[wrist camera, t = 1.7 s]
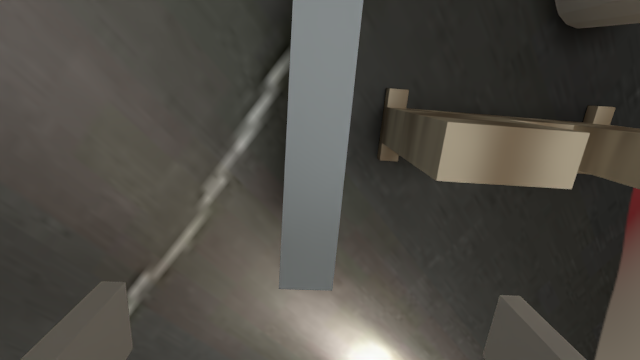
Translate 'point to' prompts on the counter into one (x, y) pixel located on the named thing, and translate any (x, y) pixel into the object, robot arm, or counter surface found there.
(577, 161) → the slotted stand
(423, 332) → the counter surface
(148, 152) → the counter surface
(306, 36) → the slotted plate
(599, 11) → the white cylinder
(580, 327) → the counter surface
